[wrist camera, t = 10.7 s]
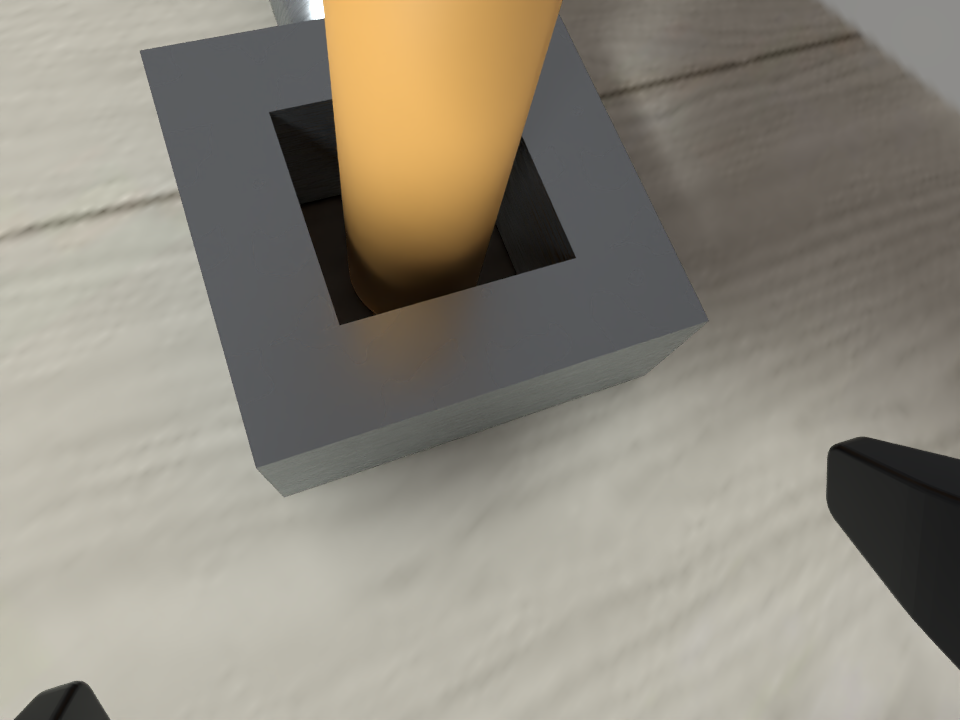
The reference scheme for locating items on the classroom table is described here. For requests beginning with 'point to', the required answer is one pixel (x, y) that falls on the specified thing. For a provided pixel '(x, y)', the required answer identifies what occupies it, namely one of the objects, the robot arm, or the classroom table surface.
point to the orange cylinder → (428, 133)
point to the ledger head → (426, 325)
